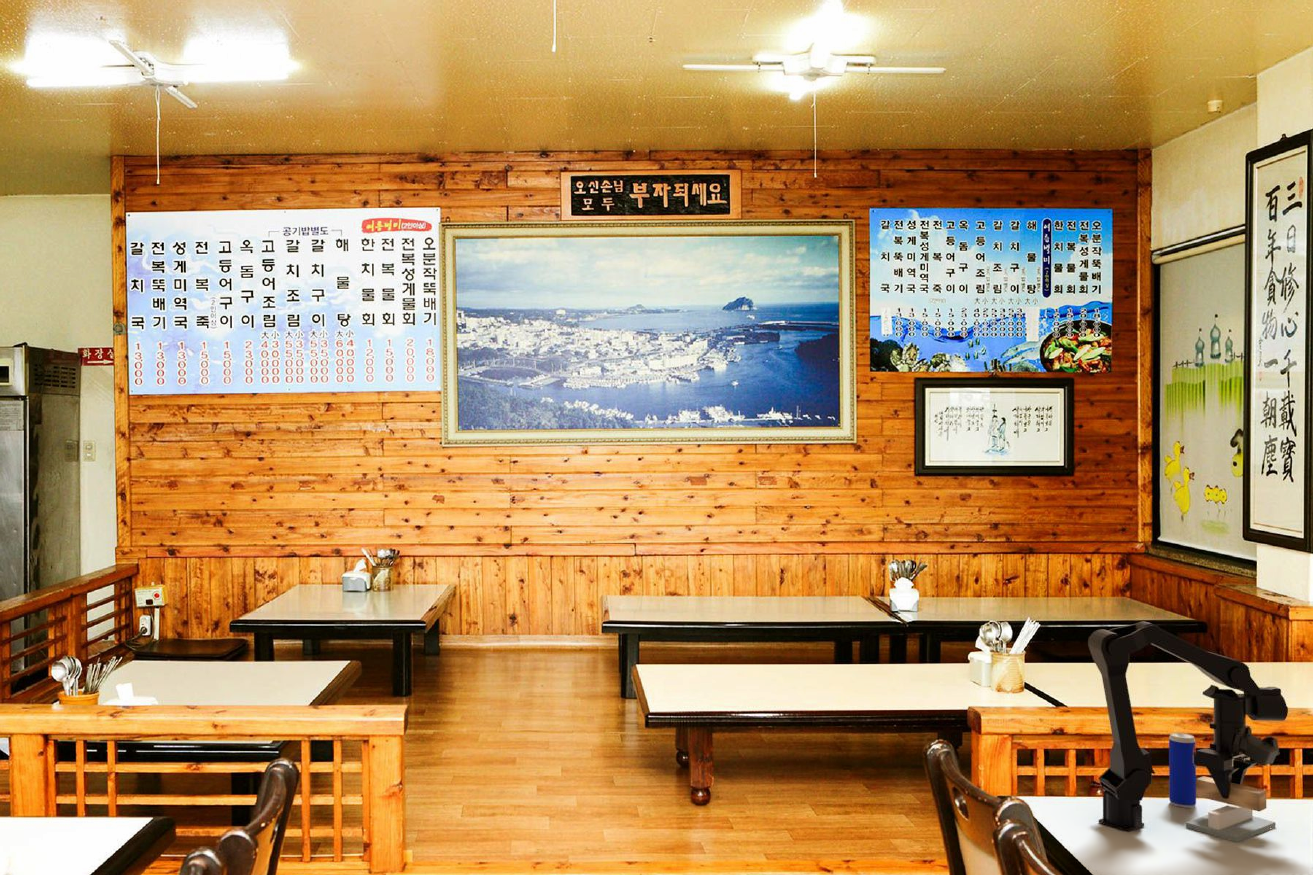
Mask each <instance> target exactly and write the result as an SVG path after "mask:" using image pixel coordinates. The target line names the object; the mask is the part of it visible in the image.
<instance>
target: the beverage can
mask: <svg viewBox="0 0 1313 875" xmlns="http://www.w3.org/2000/svg"><path fill="white" fill-rule="evenodd" d="M1168 748H1169V749H1168V761H1169V762H1168V765H1169V766H1168V769H1169V772H1168V773H1169V774H1168V776H1169V777H1168V779H1169V780H1168V782H1169V783H1168V784H1169V785H1168V786H1169V787H1168V788H1169V790H1168V791H1169V798H1168V799H1169V802H1170V803H1171V805H1173V806H1175V807H1178V808H1185V809H1191V808H1194V807H1195V806H1196V805H1197V796H1196V779H1197V771H1196V770H1197V769H1196V768H1197V767H1196V766H1197V765H1195V764H1193V753H1195V752H1196V751H1197V750H1196V749H1197V746H1196V739H1195V736H1194V735H1193V734H1189V733H1184V732H1172V733H1170V735H1169V738H1168Z"/></svg>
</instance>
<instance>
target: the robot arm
mask: <svg viewBox="0 0 1313 875" xmlns="http://www.w3.org/2000/svg"><path fill="white" fill-rule="evenodd" d="M1087 645H1088V649H1089V651H1090V654H1091V657H1092V660H1093V662H1094V664H1095V665H1096V667H1097V669H1098V671H1099V673H1100V674H1101V680H1102V684H1103V691H1104V697H1105V701H1106V708H1107V714H1108V718H1109V725H1110V730H1111V736H1112V747H1111V751H1110V754H1109V759H1110V760H1109V767H1108V768H1107V769H1106V770H1105V771H1104V772H1103V773H1102V774H1101V775H1100V776H1099V777H1098V781H1099V784H1100V787H1101V788H1102V789H1104V790H1102V818H1101V819H1098V823H1099V824H1102V825H1106V826H1109V827H1111V828H1116V829H1119V830H1122V831H1125V832H1130V831H1133V830H1137V829H1139V828H1142V827H1145V823H1144V822H1143V806H1142V805H1141V801H1142V800H1143V797H1144V795H1145V792H1146V790H1147V788H1148V787H1149V786H1150V785H1151V784H1152V781H1153V775H1156V772H1155V770H1154V769H1153V766H1152V765H1153V764H1152V763H1153V762H1152V760H1153V759H1152V754H1151V752H1148V751H1147V750H1145V749H1144V748H1142V747H1141V746H1140V745H1139V742H1138V737H1137V732H1136V726H1135V720H1134V714H1133V708H1132V703H1131V698H1130V692H1129V687H1128V681H1127V671H1128V668H1129V664H1130V654H1132V653H1135V652H1139V651H1140V650H1142V649H1143V648H1145V647H1147V646H1148V645H1151V646H1154V647H1157V648H1158V649H1161V650H1162V651H1164V652H1167V653H1168V654H1171V655H1173V656H1175V658H1176V657H1177V658H1179V659H1180V660H1182V661H1185V662H1186V663H1189V664H1191V665H1192V666H1194V667H1195V668H1197V669H1198V670H1199V671H1200V672H1201V673H1202V674H1203V675H1205V676H1206V677H1208V678H1209V679H1210V680H1212V681H1213V682H1215V683H1217V684H1220V685H1222V686H1225V687H1228V688H1219V686H1217V685H1214V684H1211V685H1209V687H1208V688H1207V689H1205V690H1204V691H1202V695H1203V696H1205V697H1207V698H1210V699H1213V722H1209V729H1212V730H1213V742H1209V748H1206V747H1205V748H1201V749H1198V750H1196V752H1195V753H1193V764H1195V765H1196V766H1198V767H1199V766H1201V767H1204V768H1206V769H1207V770H1208V773H1209V774H1210V776H1211V778H1213V780H1214V782H1215V784H1216V786H1217V788H1218V790H1219V792H1220V794H1221V796H1222V798H1225V799H1228V798H1229V793H1230V786H1231V783H1235V784H1240V785H1243V782H1244V779H1245V776H1246V773H1247V771H1248V770H1249V769H1250V768H1252V767H1253V766H1255V765H1256V764H1258V765H1260V766H1263V767H1266V766H1268V765H1271V764H1273V763H1274V761H1275V759H1276V757H1277V756H1279V755H1280V754H1281V753H1280V751H1279V750H1280V747H1279V742H1278V739H1277V738H1275V737H1273V736H1271V735H1268V736H1266V737H1264V738H1263V739H1262V737H1257V736H1255V735H1253V734H1252V732H1253V731H1252V728H1251V726H1250V725H1246V724H1247V723H1246V721H1247V719H1246V718H1247V716H1248V718H1249V720H1252V721H1260V722H1263V721H1264V722H1284V721H1285V720H1286V719H1287V717H1288V713H1289V707H1288V706H1287V702H1286V700H1285V697H1284V696H1283V694H1282V689H1281V688H1279V687H1276V686H1267V687H1259V685H1258V684H1257V683H1256V682H1255V680H1254V679H1253V677H1252V676H1251V670H1250V668H1249V665H1247V664H1246V663H1244V662H1243V661H1240V660H1236V659H1234V658H1230V657H1228V656H1224V655H1220V654H1217V653H1213V652H1211V651H1207V650H1205V649H1203V648H1201V647H1199V646H1197V645H1195V644H1193V643H1191V642H1188V641H1187V640H1185V639H1182V638H1181V637H1179V636H1176V635H1174V634H1172V633H1171V632H1168V631H1167V630H1164V629H1162V628H1160V627H1159V625H1156V624H1154V623H1151V622H1147V621H1139V622H1136V623H1133V624H1130V625H1124V626H1119V627H1115V628H1111V629H1109V630H1107V629H1104V628H1103V629H1101V628H1100V629H1097V630H1095V631H1093V632H1092V633H1091V634H1090V636H1088V640H1087ZM1229 688H1230V689H1229ZM1235 690H1238V691H1240V692H1243V693H1237V692H1236V691H1235Z"/></svg>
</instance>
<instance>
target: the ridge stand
mask: <svg viewBox="0 0 1313 875" xmlns="http://www.w3.org/2000/svg"><path fill="white" fill-rule="evenodd" d="M1275 826H1276V822H1275V821H1272V820H1268V819H1265V818H1262V817H1261V818H1260V817H1259V816H1258V817H1257V816H1254V815H1253V810H1251V809H1247V808H1243V807H1239V806H1235V805H1231V804H1227V805H1225V806H1222V807H1218V808H1216V809H1212V810H1211V811H1210V810H1209V811H1208V812H1207V814H1206V815H1203V816H1200V817H1197V818H1194V819H1191V820H1189V821H1186V822H1185V828H1187V829H1191V830H1194V831H1197V832H1202V833H1203V834H1207V835H1211V836H1215V837H1217V838H1222V839H1224V840H1229V841H1231V842H1235V843H1239V842H1242V841H1244V840H1246V839H1248V838H1251V836H1252V837H1255V836H1256V834H1257V835H1259V834H1261V832H1262V833H1264V832H1263V831H1265V832H1267V831H1269V830H1268V829H1270V828H1272V829H1274V828H1273V827H1275ZM1275 828H1276V827H1275ZM1270 830H1271V829H1270Z"/></svg>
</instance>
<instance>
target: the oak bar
mask: <svg viewBox="0 0 1313 875" xmlns="http://www.w3.org/2000/svg"><path fill="white" fill-rule="evenodd" d="M1196 797H1199V798H1203V799H1207V800H1210V801H1215V802H1220V803H1223V804H1227V805H1230V804H1231V805H1235V806H1239V807H1243V808H1247V809H1251V810H1252V811H1256V812H1262V811H1263V810H1266V809H1267V790H1266V789H1265V790H1264V789H1261V788H1256V787H1252V786H1248V785H1243V784H1242V785H1240V784H1235V783H1231V786H1230V793H1229V798H1228V799H1225V798H1222V796H1221V794H1220V792H1219V790H1218V788H1217V786H1216V784H1215V782H1214V780H1213V778H1212V777H1209V776H1200V777H1197V778H1196Z"/></svg>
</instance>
